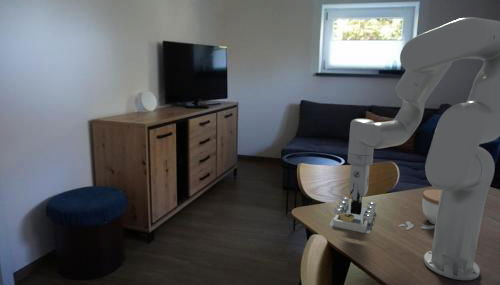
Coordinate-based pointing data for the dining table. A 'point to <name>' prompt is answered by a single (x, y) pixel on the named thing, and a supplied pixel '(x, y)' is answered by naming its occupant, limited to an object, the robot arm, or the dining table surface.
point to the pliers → (413, 226)
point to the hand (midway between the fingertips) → (355, 213)
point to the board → (357, 223)
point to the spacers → (367, 215)
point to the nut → (347, 217)
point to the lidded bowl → (431, 204)
